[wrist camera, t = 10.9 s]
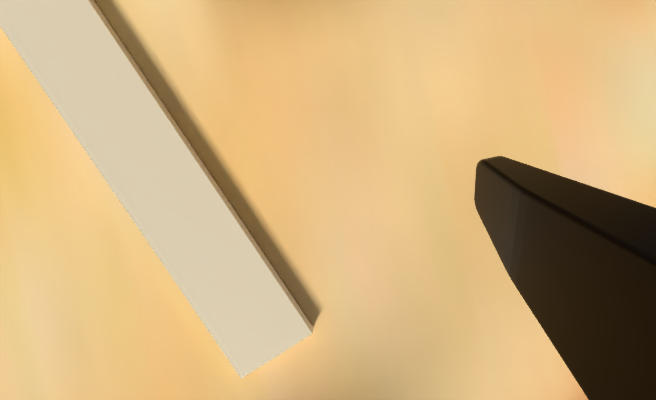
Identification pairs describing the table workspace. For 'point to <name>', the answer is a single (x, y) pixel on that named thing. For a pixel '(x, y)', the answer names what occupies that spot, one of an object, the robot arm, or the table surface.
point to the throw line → (157, 177)
